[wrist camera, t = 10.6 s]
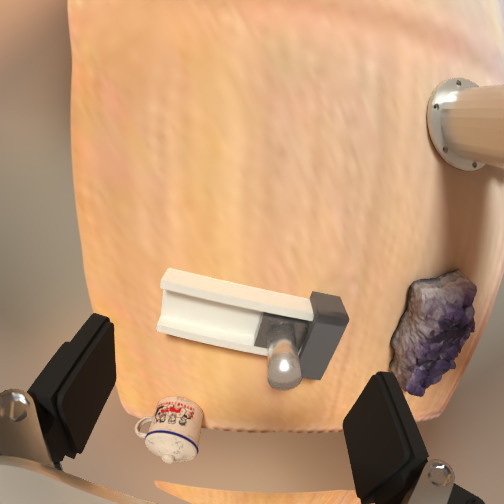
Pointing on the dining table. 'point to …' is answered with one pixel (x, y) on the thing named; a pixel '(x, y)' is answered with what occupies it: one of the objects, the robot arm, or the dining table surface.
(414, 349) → the geode
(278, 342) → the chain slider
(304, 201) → the dining table surface
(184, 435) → the teacup with lid
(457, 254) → the dining table surface
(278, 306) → the track
